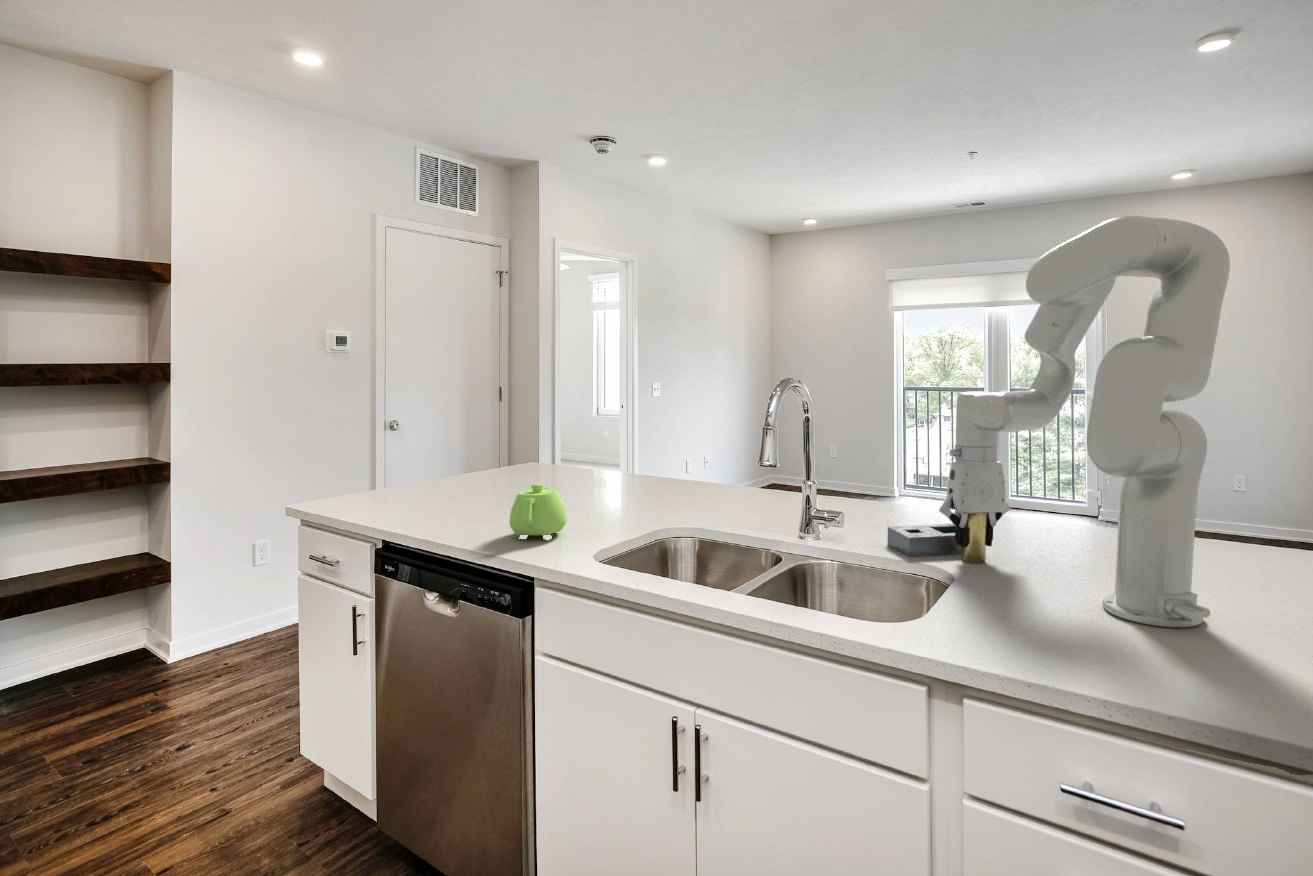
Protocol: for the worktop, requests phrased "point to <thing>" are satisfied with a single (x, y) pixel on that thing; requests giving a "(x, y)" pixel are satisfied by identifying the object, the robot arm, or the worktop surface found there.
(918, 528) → the block
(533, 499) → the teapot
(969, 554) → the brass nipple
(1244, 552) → the worktop surface
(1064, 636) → the worktop surface
